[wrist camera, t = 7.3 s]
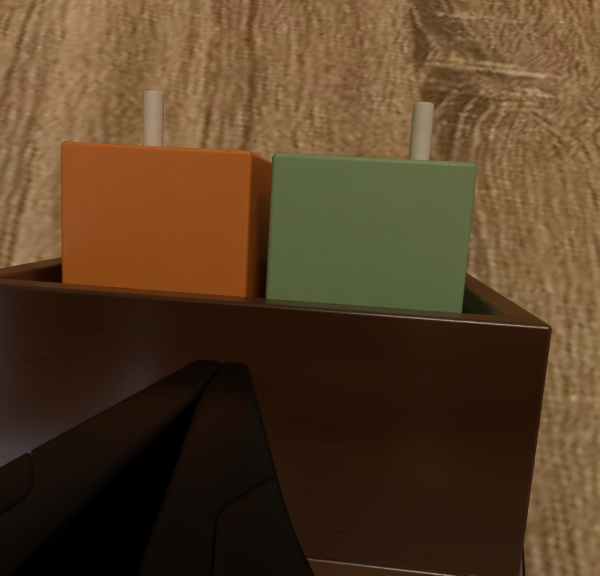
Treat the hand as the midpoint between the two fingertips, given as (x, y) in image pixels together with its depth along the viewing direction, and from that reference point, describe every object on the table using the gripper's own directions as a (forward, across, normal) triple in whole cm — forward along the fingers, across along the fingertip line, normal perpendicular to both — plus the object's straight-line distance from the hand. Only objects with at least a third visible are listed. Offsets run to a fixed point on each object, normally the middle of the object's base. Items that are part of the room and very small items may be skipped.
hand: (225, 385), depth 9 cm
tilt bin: (+3, 0, +4) cm, 5 cm away
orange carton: (+4, +2, +4) cm, 6 cm away
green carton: (+4, -2, +4) cm, 6 cm away
